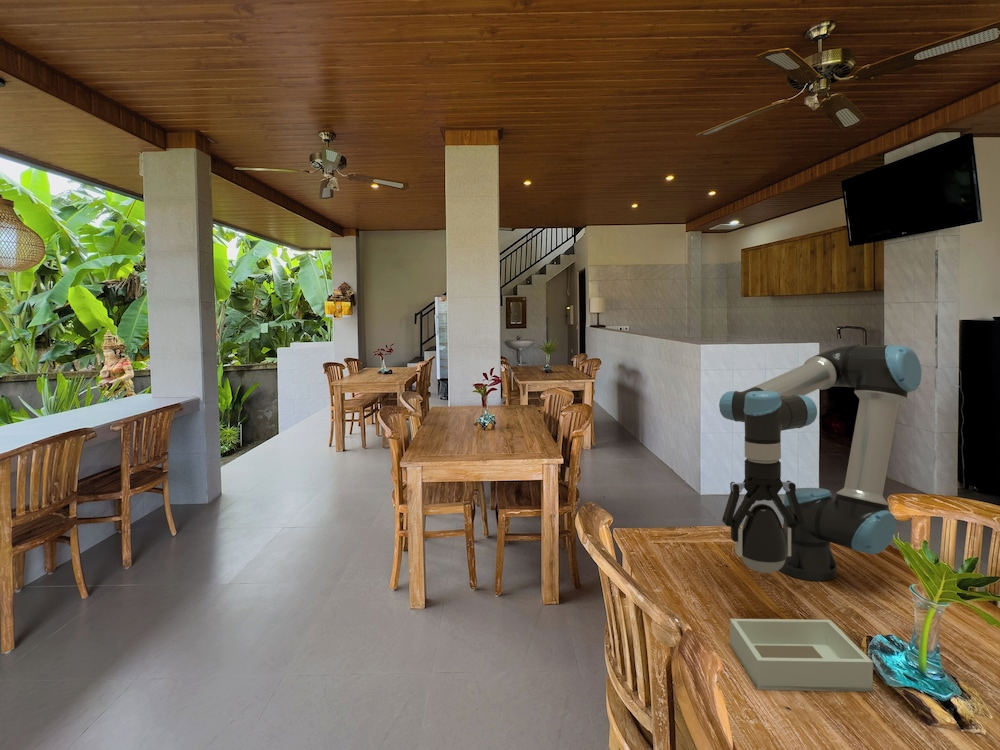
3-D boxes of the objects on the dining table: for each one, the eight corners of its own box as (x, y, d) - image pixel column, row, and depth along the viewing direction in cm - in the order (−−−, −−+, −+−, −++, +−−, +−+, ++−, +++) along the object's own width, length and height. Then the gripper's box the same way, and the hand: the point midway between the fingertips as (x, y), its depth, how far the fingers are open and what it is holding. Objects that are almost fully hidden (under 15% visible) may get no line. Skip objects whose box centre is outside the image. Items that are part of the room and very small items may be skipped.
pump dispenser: (730, 561, 138) (729, 499, 137) (771, 558, 139) (771, 496, 138) (752, 579, 128) (751, 512, 127) (797, 576, 129) (797, 509, 127)
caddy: (829, 645, 124) (830, 619, 124) (872, 691, 108) (873, 662, 108) (729, 644, 126) (729, 618, 125) (757, 689, 110) (757, 660, 109)
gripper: (806, 454, 134) (806, 547, 136) (706, 457, 136) (707, 548, 138) (822, 462, 127) (821, 560, 129) (716, 464, 128) (717, 561, 130)
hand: (762, 554), depth 133 cm, fingers closed on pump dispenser, 10 cm apart
